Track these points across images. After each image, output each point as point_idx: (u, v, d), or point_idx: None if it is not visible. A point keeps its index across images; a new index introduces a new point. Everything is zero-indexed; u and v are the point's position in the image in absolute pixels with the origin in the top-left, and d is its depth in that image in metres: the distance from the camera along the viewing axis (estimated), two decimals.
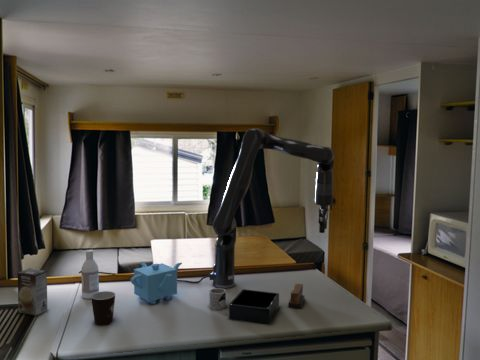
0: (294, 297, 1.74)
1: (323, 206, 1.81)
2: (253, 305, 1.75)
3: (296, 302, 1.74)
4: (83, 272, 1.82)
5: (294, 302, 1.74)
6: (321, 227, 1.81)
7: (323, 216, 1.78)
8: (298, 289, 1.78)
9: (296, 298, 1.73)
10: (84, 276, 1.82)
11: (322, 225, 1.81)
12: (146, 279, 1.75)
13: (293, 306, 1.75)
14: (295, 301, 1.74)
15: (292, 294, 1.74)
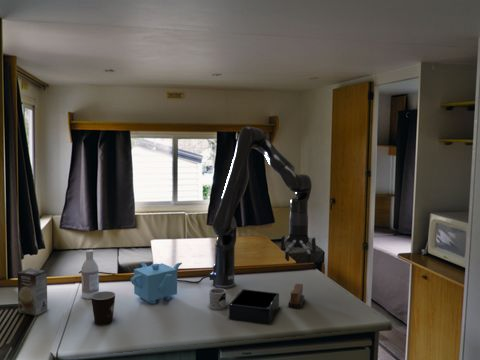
0: (294, 297, 1.74)
1: (289, 234, 1.78)
2: (253, 305, 1.75)
3: (296, 302, 1.74)
4: (83, 272, 1.82)
5: (294, 302, 1.74)
6: None
7: (281, 243, 1.79)
8: (298, 289, 1.78)
9: (296, 298, 1.73)
10: (84, 276, 1.82)
11: None
12: (146, 279, 1.75)
13: (293, 306, 1.75)
14: (295, 301, 1.74)
15: (292, 294, 1.74)
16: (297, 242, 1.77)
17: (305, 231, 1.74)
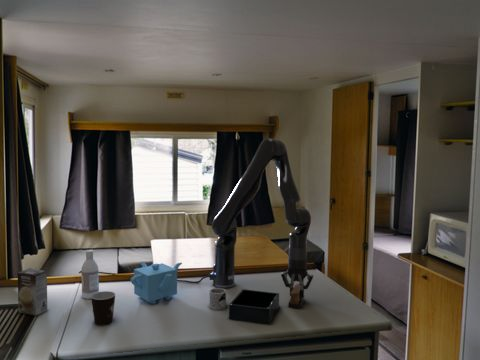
0: (294, 297, 1.74)
1: (288, 268, 1.79)
2: (253, 305, 1.75)
3: (296, 302, 1.74)
4: (83, 272, 1.82)
5: (294, 302, 1.74)
6: (290, 290, 1.80)
7: None
8: (298, 289, 1.78)
9: (296, 298, 1.73)
10: (84, 276, 1.82)
11: None
12: (146, 279, 1.75)
13: (293, 306, 1.75)
14: (295, 301, 1.74)
15: (292, 294, 1.74)
16: (296, 276, 1.78)
17: (304, 266, 1.75)
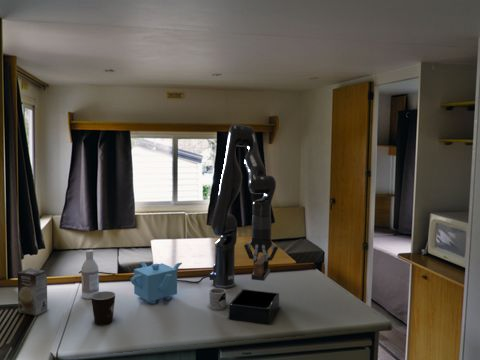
0: (257, 268, 1.63)
1: None
2: (253, 305, 1.75)
3: (259, 274, 1.63)
4: (83, 272, 1.82)
5: (257, 274, 1.64)
6: None
7: None
8: (262, 261, 1.68)
9: (259, 269, 1.63)
10: (84, 276, 1.82)
11: None
12: (146, 279, 1.75)
13: (256, 278, 1.65)
14: (258, 273, 1.63)
15: (255, 265, 1.63)
16: (259, 247, 1.67)
17: (267, 235, 1.65)
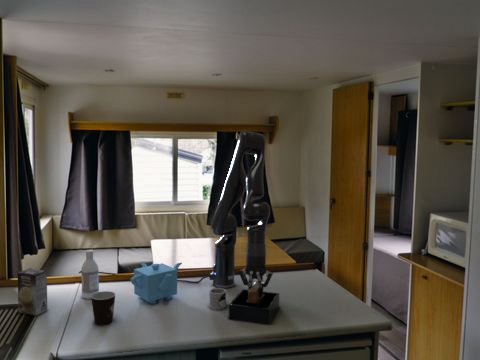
0: (251, 296, 1.63)
1: None
2: None
3: (254, 301, 1.63)
4: (83, 272, 1.82)
5: (251, 301, 1.63)
6: (248, 289, 1.70)
7: None
8: (257, 287, 1.67)
9: (253, 297, 1.63)
10: (84, 276, 1.82)
11: None
12: (146, 279, 1.75)
13: (251, 305, 1.65)
14: (253, 300, 1.63)
15: (249, 292, 1.63)
16: (254, 273, 1.67)
17: (262, 262, 1.65)
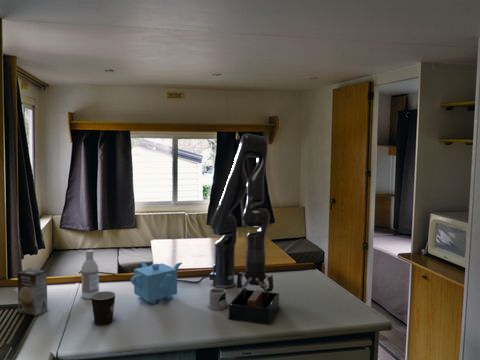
0: (251, 304, 1.63)
1: None
2: None
3: None
4: (83, 272, 1.82)
5: None
6: None
7: None
8: (256, 296, 1.68)
9: (253, 305, 1.63)
10: (84, 276, 1.82)
11: None
12: (146, 279, 1.75)
13: None
14: None
15: (249, 301, 1.63)
16: (253, 280, 1.67)
17: (261, 269, 1.65)
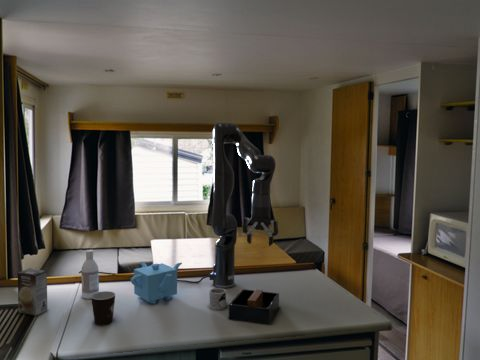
0: (251, 304, 1.63)
1: None
2: None
3: None
4: (83, 272, 1.82)
5: None
6: None
7: None
8: (256, 296, 1.68)
9: (253, 305, 1.63)
10: (84, 276, 1.82)
11: None
12: (146, 279, 1.75)
13: None
14: None
15: (249, 301, 1.63)
16: (259, 224, 1.73)
17: (267, 213, 1.70)
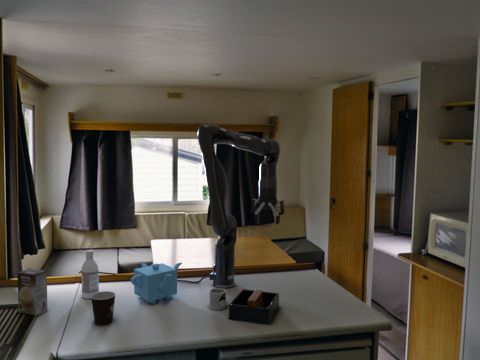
0: (251, 304, 1.63)
1: None
2: None
3: None
4: (83, 272, 1.82)
5: None
6: None
7: None
8: (256, 296, 1.68)
9: (253, 305, 1.63)
10: (84, 276, 1.82)
11: None
12: (146, 279, 1.75)
13: None
14: None
15: (249, 301, 1.63)
16: (266, 204, 1.83)
17: (273, 193, 1.81)
